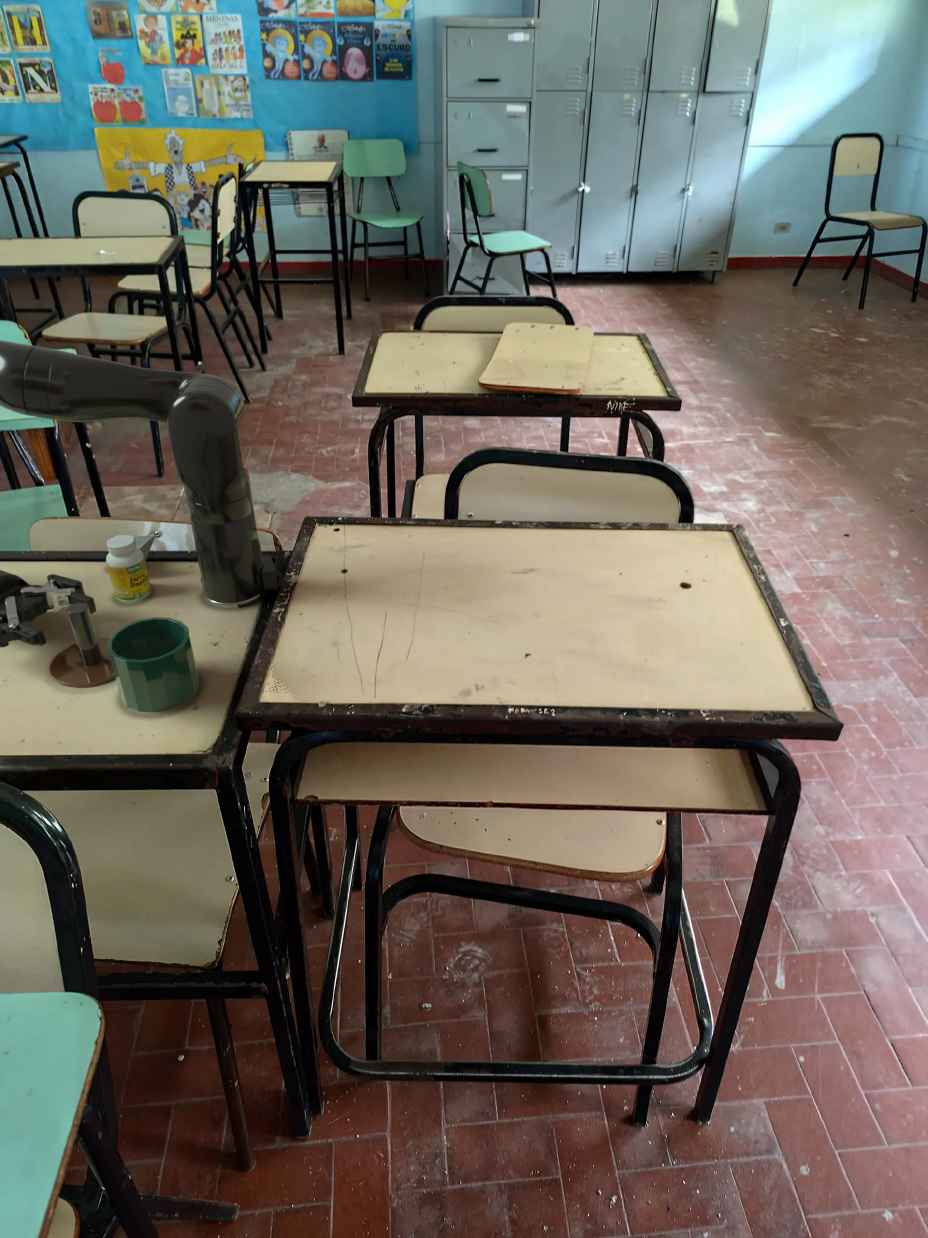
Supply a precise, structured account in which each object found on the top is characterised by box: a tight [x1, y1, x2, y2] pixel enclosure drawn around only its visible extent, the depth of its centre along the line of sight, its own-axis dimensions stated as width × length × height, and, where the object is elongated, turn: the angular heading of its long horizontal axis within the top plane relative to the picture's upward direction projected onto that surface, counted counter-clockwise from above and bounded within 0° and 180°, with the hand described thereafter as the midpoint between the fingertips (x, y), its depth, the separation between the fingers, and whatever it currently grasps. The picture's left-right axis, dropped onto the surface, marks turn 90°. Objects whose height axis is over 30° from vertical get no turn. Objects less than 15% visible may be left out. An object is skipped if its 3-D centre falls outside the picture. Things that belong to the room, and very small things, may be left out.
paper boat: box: [133, 530, 157, 563], centre depth 138 cm, size 12×6×9 cm
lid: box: [49, 603, 116, 688], centre depth 114 cm, size 11×11×10 cm
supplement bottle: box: [105, 534, 152, 602], centre depth 129 cm, size 5×5×10 cm
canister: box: [108, 616, 200, 713], centre depth 110 cm, size 10×10×8 cm
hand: (68, 622), depth 114 cm, fingers open, 8 cm apart
